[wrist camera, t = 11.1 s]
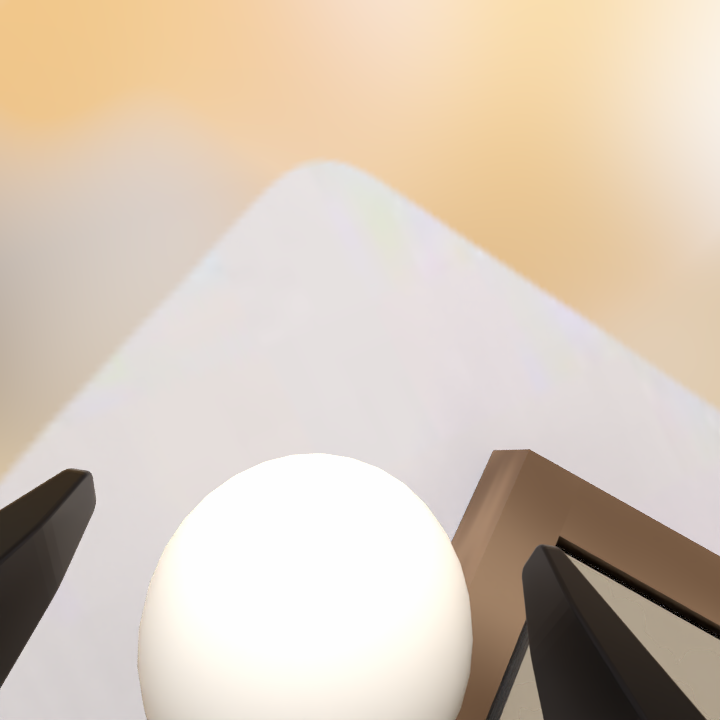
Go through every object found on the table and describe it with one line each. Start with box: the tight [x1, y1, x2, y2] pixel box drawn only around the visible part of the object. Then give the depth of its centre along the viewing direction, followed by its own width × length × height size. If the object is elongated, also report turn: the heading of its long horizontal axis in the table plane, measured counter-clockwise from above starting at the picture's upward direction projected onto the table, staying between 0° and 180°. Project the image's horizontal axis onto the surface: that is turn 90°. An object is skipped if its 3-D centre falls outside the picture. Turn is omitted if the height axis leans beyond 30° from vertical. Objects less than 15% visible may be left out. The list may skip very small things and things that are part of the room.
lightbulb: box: [137, 454, 473, 720], centre depth 11 cm, size 6×6×11 cm
